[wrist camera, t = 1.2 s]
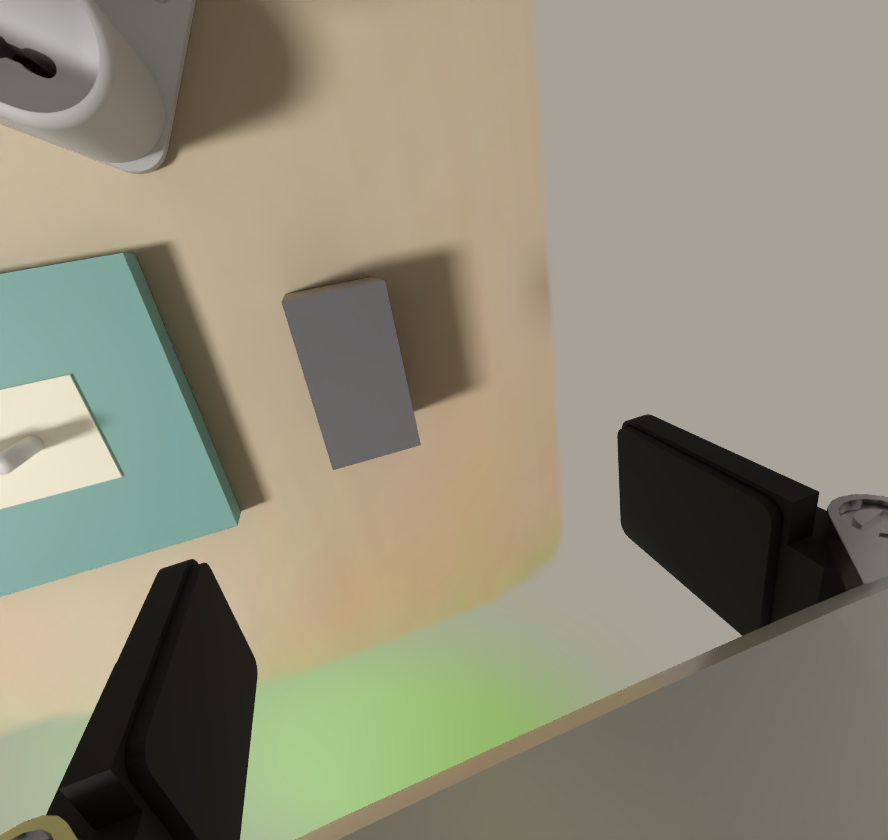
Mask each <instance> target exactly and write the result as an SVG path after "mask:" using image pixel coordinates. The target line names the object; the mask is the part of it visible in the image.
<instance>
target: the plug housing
mask: <svg viewBox="0 0 888 840" xmlns="http://www.w3.org/2000/svg"><path fill="white" fill-rule="evenodd" d="M282 305H283V308H284V311H285V315H286V318H287V321H288V324H289V328H290V331H291V334H292V337H293V341H294V344H295V347H296V351H297V354H298V357H299V360H300V364H301V367H302V370H303V373H304V377H305V380H306V383H307V386H308V390H309V393H310V396H311V400H312V403H313V406H314V409H315V413H316V416H317V419H318V422H319V426H320V429H321V432H322V436H323V439H324V442H325V445H326V449H327V452H328V455H329V458H330V462H331V465H332V468H333V470H335V469H339V468H342V467H346V466H349V465H353V464H356V463H360V462H363V461H367V460H370V459H373V458H377V457H380V456H384V455H387V454H391V453H394V452H398V451H401V450H405V449H408V448H412V447H415V446H419V445H421V444H420V439H419V435H418V430H417V425H416V421H415V416H414V412H413V407H412V402H411V398H410V393H409V389H408V384H407V379H406V375H405V370H404V365H403V361H402V356H401V352H400V347H399V342H398V338H397V333H396V328H395V324H394V319H393V315H392V310H391V305H390V301H389V296H388V291H387V287H386V282H385V280H382V279H378V278H374V277H367V278H362V279H357V280H352V281H347V282H342V283H338V284H333V285H328V286H323V287H318V288H313V289H308V290H303V291H298V292H293V293H288V294H285V296H284V298H283V300H282Z"/></svg>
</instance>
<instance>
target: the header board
mask: <svg viewBox="0 0 888 840" xmlns="http://www.w3.org/2000/svg"><path fill="white" fill-rule="evenodd" d="M240 514H241V511H240V508H239V506H238V503H237V501H236V499H235V496H234V494H233V491H232V489H231V486H230V484H229V482H228V479H227V477H226V474H225V472H224V469H223V467H222V464H221V462H220V460H219V457H218V455H217V452H216V450H215V447H214V445H213V443H212V440H211V438H210V435H209V433H208V430H207V428H206V426H205V423H204V421H203V418H202V416H201V413H200V411H199V408H198V406H197V404H196V401H195V399H194V396H193V394H192V391H191V389H190V387H189V384H188V382H187V379H186V377H185V374H184V372H183V370H182V367H181V365H180V362H179V360H178V357H177V355H176V353H175V350H174V348H173V345H172V343H171V340H170V338H169V335H168V333H167V331H166V328H165V326H164V323H163V321H162V318H161V316H160V314H159V311H158V309H157V306H156V304H155V301H154V299H153V297H152V294H151V292H150V289H149V287H148V284H147V282H146V279H145V277H144V275H143V272H142V270H141V267H140V265H139V262H138V260H137V258H136V255H135V253H118V254H113V255H107V256H101V257H95V258H89V259H84V260H78V261H72V262H66V263H61V264H55V265H49V266H43V267H38V268H32V269H26V270H20V271H14V272H9V273H3V274H0V597H1V596H5V595H8V594H12V593H15V592H18V591H22V590H25V589H28V588H32V587H35V586H38V585H42V584H45V583H48V582H52V581H55V580H58V579H62V578H65V577H68V576H72V575H75V574H78V573H82V572H85V571H88V570H92V569H95V568H98V567H102V566H105V565H108V564H112V563H115V562H118V561H122V560H125V559H128V558H132V557H135V556H138V555H142V554H145V553H148V552H152V551H155V550H158V549H162V548H165V547H168V546H172V545H175V544H179V543H182V542H185V541H189V540H192V539H195V538H199V537H202V536H205V535H209V534H212V533H215V532H219V531H222V530H225V529H229V528H232V527H235V526H238V522H239V518H240Z"/></svg>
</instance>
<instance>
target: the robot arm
mask: <svg viewBox="0 0 888 840" xmlns="http://www.w3.org/2000/svg"><path fill="white" fill-rule="evenodd" d="M617 438H618V462H619V489H620V514H621V525H622V528H623V530H624V532H625V534H626V535H627V536H628V537H629V538H630V539H631V540H632V541H633V542H635V543H636V544H637V545H638V546H639V547H640V548H642V549H643V550H644V551H645V552H646V553H647V554H649V555H650V556H651V557H652V558H653V559H654V560H655V561H657V562H658V563H659V564H660V565H661V566H662V567H664V568H665V569H666V570H667V571H668V572H669V573H671V574H672V575H673V576H674V577H675V578H676V579H678V580H679V581H680V582H681V583H682V584H683V585H684V586H685V587H687V588H688V589H689V590H690V591H691V592H692V593H694V594H695V595H696V596H697V597H698V598H699V599H701V600H702V601H703V602H704V603H705V604H706V605H707V606H709V607H710V608H711V609H712V610H713V611H714V612H716V613H717V614H718V615H719V616H720V617H721V618H723V619H724V620H725V621H726V622H727V623H728V624H730V625H731V626H732V627H733V628H734V629H735V630H737V631H738V632H739V633H740V634H741V635H742V637H740V638H737V639H735V640H733V641H730V642H728V643H726V644H724V645H721V646H719V647H717V648H714V649H712V650H710V651H708V652H705V653H703V654H701V655H699V656H697V657H694V658H692V659H690V660H688V661H685V662H683V663H681V664H678V665H676V666H674V667H672V668H669V669H667V670H665V671H663V672H660V673H658V674H656V675H654V676H652V677H650V678H647V679H645V680H643V681H640V682H638V683H636V684H634V685H632V686H629V687H627V688H625V689H623V690H620V691H618V692H616V693H614V694H612V695H609V696H607V697H605V698H603V699H600V700H598V701H596V702H594V703H592V704H589V705H587V706H585V707H583V708H581V709H578V710H576V711H574V712H572V713H570V714H568V715H565V716H563V717H561V718H559V719H556V720H554V721H552V722H550V723H547V724H545V725H543V726H541V727H539V728H536V729H534V730H532V731H530V732H528V733H525V734H523V735H521V736H519V737H516V738H514V739H512V740H510V741H508V742H505V743H503V744H501V745H499V746H497V747H494V748H493V749H490V750H488V751H486V752H484V753H481V754H479V755H477V756H475V757H473V758H470V759H468V760H466V761H464V762H462V763H459V764H457V765H455V766H453V767H451V768H449V769H447V770H444V771H442V772H440V773H438V774H435V775H433V776H431V777H429V778H427V779H425V780H422V781H420V782H418V783H416V784H414V785H411V786H409V787H408V788H405V789H403V790H401V791H398V792H396V793H394V794H392V795H390V796H387V797H385V798H383V799H381V800H379V801H377V802H374V803H372V804H370V805H368V806H366V807H363V808H361V809H359V810H357V811H355V812H353V813H351V814H348V815H346V816H344V817H342V818H339V819H338V820H335V821H333V822H331V823H329V824H327V825H325V826H323V827H320V828H318V829H316V830H314V831H312V832H310V833H308V834H306V835H304V836H302V837H300V838H298V839H295V840H888V497H884V496H876V495H868V494H859V495H858V494H855V495H848V496H842V497H838V498H836V499H835V500H833V501H831V502H830V504H829V506H828V508H827V511H826V510H824V509H821V508H819V507H817V503H818V497H819V492H818V491H816V490H814V489H812V488H810V487H808V486H805V485H803V484H801V483H799V482H797V481H794V480H792V479H790V478H788V477H786V476H783V475H781V474H779V473H777V472H775V471H773V470H770V469H768V468H766V467H764V466H762V465H759V464H757V463H755V462H753V461H750V460H748V459H746V458H744V457H742V456H740V455H738V454H735V453H733V452H731V451H729V450H727V449H724V448H722V447H720V446H718V445H715V444H713V443H711V442H709V441H707V440H705V439H702V438H700V437H698V436H696V435H694V434H692V433H689V432H687V431H685V430H683V429H681V428H678V427H676V426H674V425H672V424H670V423H667V422H665V421H663V420H661V419H659V418H657V417H654V416H652V415H644V416H641V417H637V418H634V419H631V420H628V421H625V422H624V423H623V426H622V429H620V430H619V432H618V437H617ZM256 685H257V665H256V661H255V658H254V655H253V653H252V651H251V649H250V647H249V645H248V643H247V641H246V639H245V637H244V635H243V633H242V631H241V629H240V627H239V625H238V623H237V621H236V619H235V617H234V615H233V613H232V611H231V609H230V607H229V605H228V603H227V601H226V599H225V597H224V594H223V592H222V590H221V588H220V586H219V584H218V582H217V580H216V578H215V576H214V574H213V572H212V570H211V568H210V567H209V565H208V564H207V563H202V564H198V562H197V561H196V560H194V559H190V560H187V561H184V562H181V563H178V564H175V565H172V566H168V567H165V568H162V569H160V570H159V572H158V573H157V576H156V578H155V580H154V582H153V584H152V587H151V589H150V591H149V593H148V595H147V598H146V600H145V602H144V604H143V606H142V608H141V611H140V613H139V615H138V617H137V619H136V622H135V624H134V626H133V628H132V630H131V633H130V635H129V637H128V639H127V641H126V643H125V646H124V648H123V650H122V652H121V654H120V657H119V659H118V661H117V663H116V664H115V666H114V668H113V670H112V672H111V675H110V677H109V679H108V681H107V683H106V686H105V688H104V690H103V692H102V694H101V696H100V699H99V701H98V703H97V705H96V707H95V709H94V712H93V714H92V716H91V718H90V720H89V723H88V725H87V727H86V729H85V731H84V733H83V736H82V738H81V740H80V742H79V744H78V747H77V749H76V751H75V753H74V755H73V758H72V760H71V762H70V764H69V766H68V768H67V770H66V773H65V775H64V777H63V780H62V781H61V784H60V786H59V788H58V790H57V792H56V794H55V797H54V799H53V801H52V803H51V805H50V808H49V810H48V812H47V814H46V816H44V815H43V816H40V817H37V818H34V819H31V820H28V821H25V822H23V823H21V824H19V825H17V826H16V827H14V828H12V829H11V830H9V831H7V832H5V833H3V834H2V835H1V836H0V840H240V833H241V824H242V815H243V805H244V796H245V787H246V777H247V768H248V758H249V750H250V749H249V748H250V740H251V730H252V722H253V713H254V703H255V694H256Z"/></svg>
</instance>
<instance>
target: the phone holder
mask: <svg viewBox="0 0 888 840" xmlns="http://www.w3.org/2000/svg"><path fill="white" fill-rule="evenodd" d="M195 3H196V0H0V124H1V125H4V126H6V127H9V128H12V129H14V130H17V131H20V132H22V133H25V134H28V135H30V136H33V137H35V138H38V139H41V140H43V141H46V142H49V143H51V144H54V145H57V146H59V147H62V148H65V149H67V150H70V151H72V152H75V153H78V154H80V155H83V156H86V157H88V158H91V159H94V160H96V161H99V162H102V163H104V164H107V165H109V166H112V167H115V168H117V169H120V170H123V171H126V172H129V173H134V174H145V173H149V172H152V171H154V170H156V169H157V168H159V167H160V166H161V165H162V164H163V162H164V161H165V159H166V156H167V153H168V148H169V143H170V137H171V132H172V127H173V121H174V116H175V111H176V105H177V100H178V95H179V89H180V84H181V78H182V73H183V68H184V62H185V57H186V52H187V46H188V41H189V36H190V30H191V25H192V19H193V14H194V9H195ZM16 55H19V56H21V57H23V58H26V59H28V60H30V61H33V62H34V63H35V64H37V65H38V66H39V67H41V68H42V69H44V70H45V71H47V72H49V73H52V74H54V75H55V76H54V77H52V78H44V77H41V76H39V75H36V74H35V73H33V72H32V71H31V70H29V69H28V68H26V67H25V66H23V65H22V64H20V63H18V62H16V61H13V60H11V58H12V57H13V56H16Z"/></svg>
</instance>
